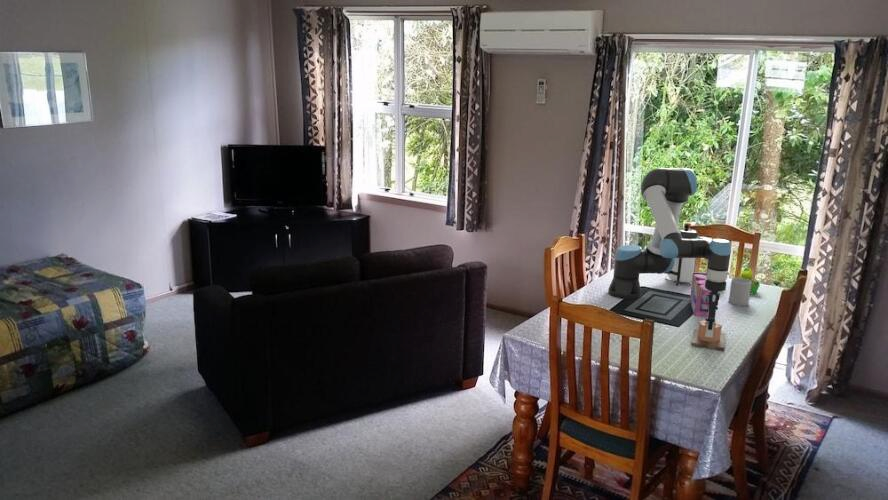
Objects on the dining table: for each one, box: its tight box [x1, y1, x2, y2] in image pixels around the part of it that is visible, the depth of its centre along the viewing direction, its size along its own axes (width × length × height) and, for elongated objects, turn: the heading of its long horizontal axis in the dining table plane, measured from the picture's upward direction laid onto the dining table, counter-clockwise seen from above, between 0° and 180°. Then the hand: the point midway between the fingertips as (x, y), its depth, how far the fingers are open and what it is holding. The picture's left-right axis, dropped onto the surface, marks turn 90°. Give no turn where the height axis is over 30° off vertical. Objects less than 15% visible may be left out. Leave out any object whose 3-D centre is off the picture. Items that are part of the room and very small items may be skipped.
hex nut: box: [697, 319, 723, 342], centre depth 265 cm, size 7×8×6 cm
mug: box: [728, 277, 751, 307], centre depth 311 cm, size 12×8×11 cm
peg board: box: [690, 318, 726, 352], centre depth 265 cm, size 12×16×10 cm
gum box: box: [689, 271, 711, 318], centre depth 301 cm, size 24×8×14 cm, turn 166°
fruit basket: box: [740, 267, 761, 295], centre depth 327 cm, size 11×9×11 cm
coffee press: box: [664, 223, 700, 287], centre depth 336 cm, size 17×16×30 cm
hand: (709, 330), depth 265 cm, fingers open, 13 cm apart
